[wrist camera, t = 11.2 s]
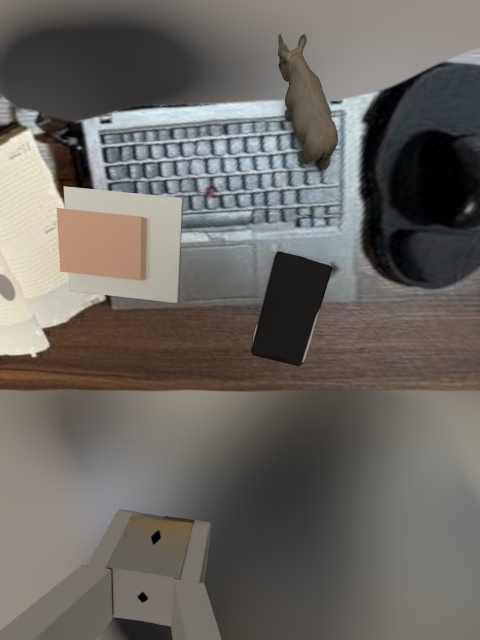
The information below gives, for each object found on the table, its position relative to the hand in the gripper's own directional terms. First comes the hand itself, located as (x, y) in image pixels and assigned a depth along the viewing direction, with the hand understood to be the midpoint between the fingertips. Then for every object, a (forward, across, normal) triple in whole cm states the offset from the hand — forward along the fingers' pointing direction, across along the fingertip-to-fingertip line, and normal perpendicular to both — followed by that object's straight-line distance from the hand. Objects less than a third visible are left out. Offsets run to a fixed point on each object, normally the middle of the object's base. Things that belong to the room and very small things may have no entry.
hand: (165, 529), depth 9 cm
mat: (+31, +17, -8) cm, 36 cm away
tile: (+30, +13, -8) cm, 33 cm away
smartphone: (+32, -7, -2) cm, 33 cm away
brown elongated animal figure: (+32, -5, -26) cm, 41 cm away
